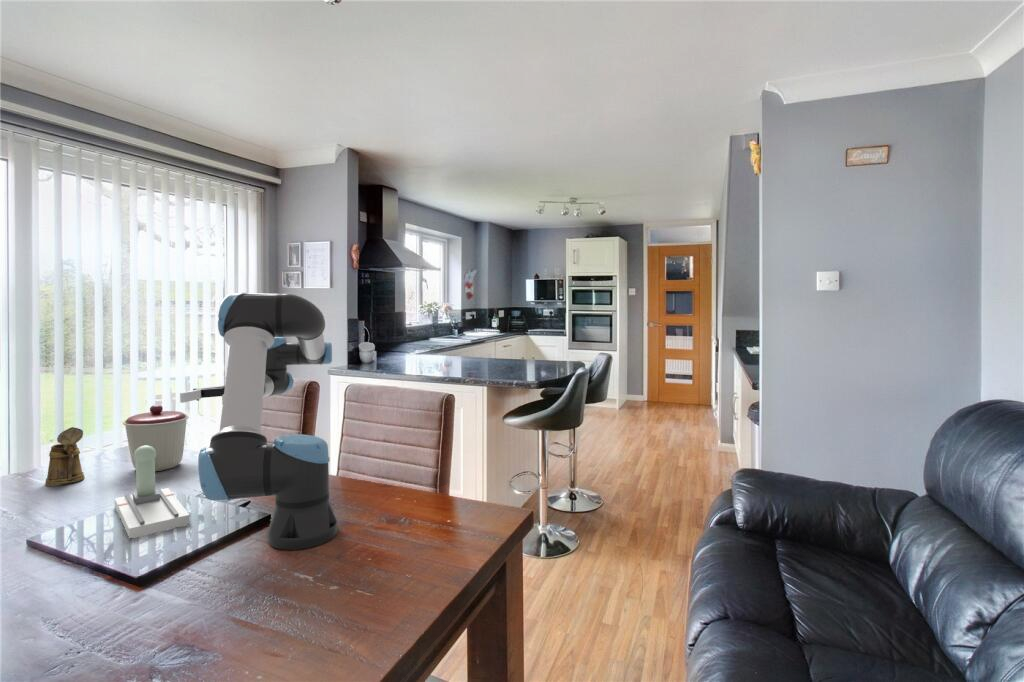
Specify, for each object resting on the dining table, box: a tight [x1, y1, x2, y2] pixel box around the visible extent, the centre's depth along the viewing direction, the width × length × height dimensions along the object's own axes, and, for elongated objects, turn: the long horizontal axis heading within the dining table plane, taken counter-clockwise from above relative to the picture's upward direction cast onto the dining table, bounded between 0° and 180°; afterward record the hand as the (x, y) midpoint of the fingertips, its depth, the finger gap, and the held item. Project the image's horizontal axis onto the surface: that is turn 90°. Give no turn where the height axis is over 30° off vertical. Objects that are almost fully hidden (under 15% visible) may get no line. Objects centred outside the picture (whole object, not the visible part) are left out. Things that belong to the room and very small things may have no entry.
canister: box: [122, 404, 190, 472], centre depth 172 cm, size 18×18×21 cm
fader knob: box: [132, 445, 160, 504], centre depth 136 cm, size 5×5×14 cm
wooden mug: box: [44, 426, 85, 487], centre depth 156 cm, size 9×14×18 cm, turn 54°
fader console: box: [114, 487, 191, 540], centre depth 132 cm, size 26×12×3 cm, turn 43°
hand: (201, 398), depth 143 cm, fingers open, 13 cm apart
